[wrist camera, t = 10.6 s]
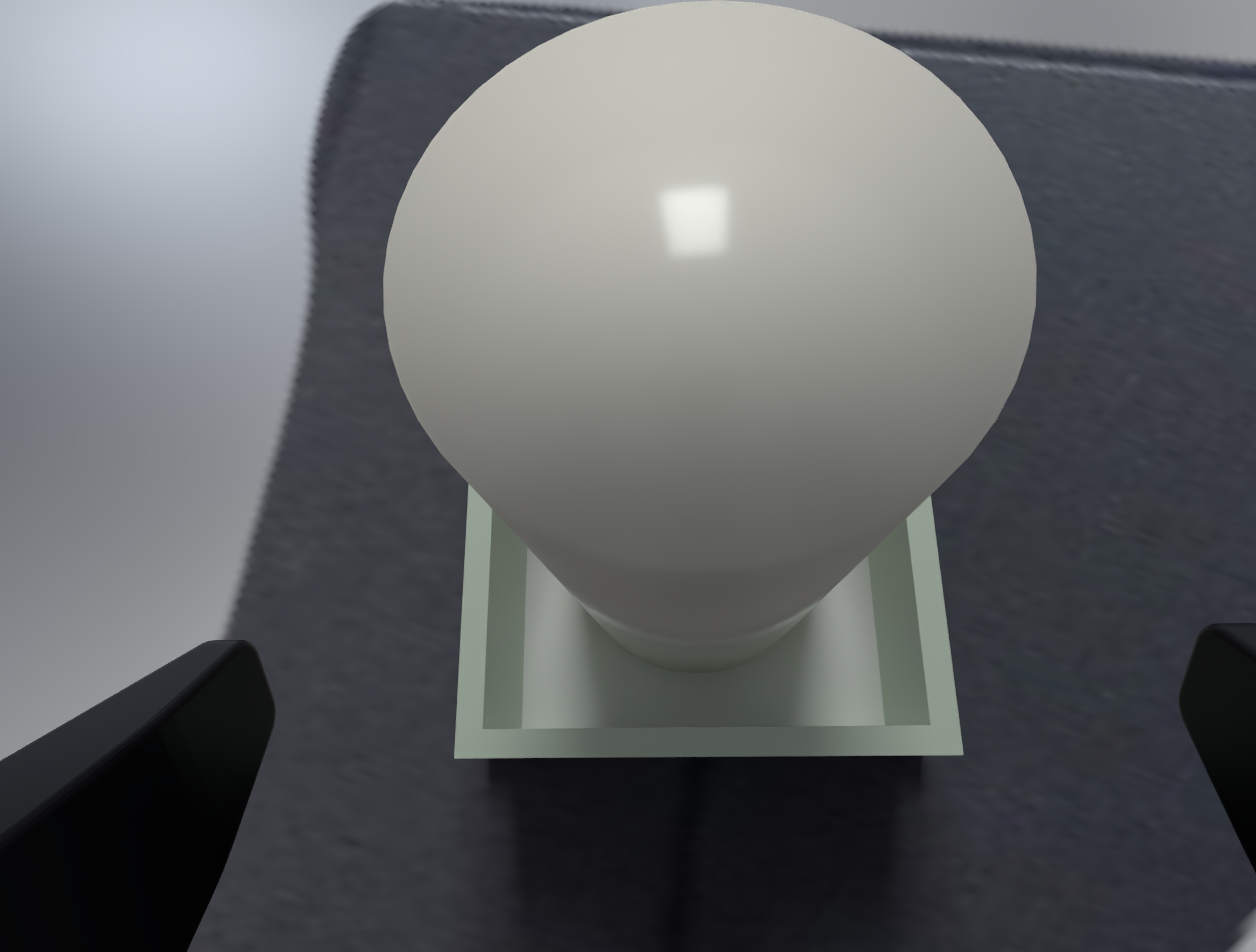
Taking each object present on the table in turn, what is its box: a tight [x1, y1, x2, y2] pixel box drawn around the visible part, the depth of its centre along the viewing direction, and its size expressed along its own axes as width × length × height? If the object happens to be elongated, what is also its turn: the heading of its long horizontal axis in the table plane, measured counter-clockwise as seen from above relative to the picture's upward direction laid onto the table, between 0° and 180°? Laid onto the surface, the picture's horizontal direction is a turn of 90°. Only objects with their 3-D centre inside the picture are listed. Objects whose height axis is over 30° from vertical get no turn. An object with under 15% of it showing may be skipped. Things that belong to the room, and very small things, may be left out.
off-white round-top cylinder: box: [383, 1, 1036, 673], centre depth 13 cm, size 6×6×12 cm
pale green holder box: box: [454, 484, 964, 758], centre depth 18 cm, size 13×10×5 cm
